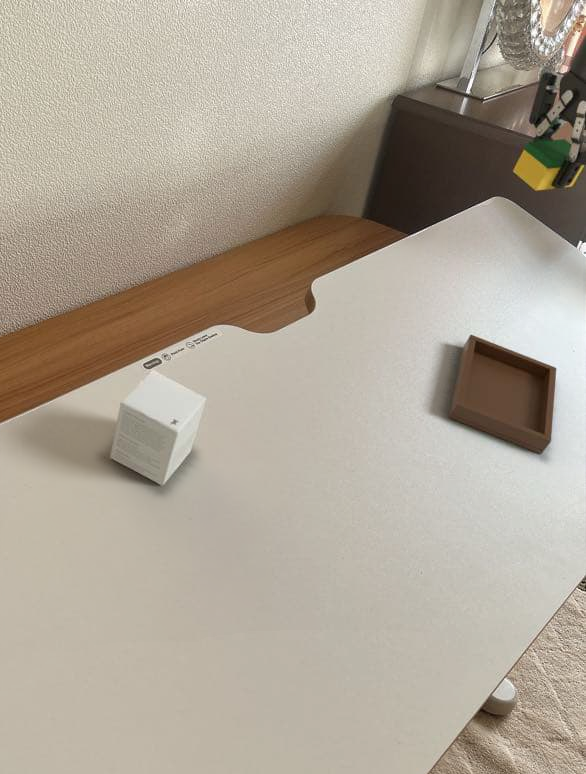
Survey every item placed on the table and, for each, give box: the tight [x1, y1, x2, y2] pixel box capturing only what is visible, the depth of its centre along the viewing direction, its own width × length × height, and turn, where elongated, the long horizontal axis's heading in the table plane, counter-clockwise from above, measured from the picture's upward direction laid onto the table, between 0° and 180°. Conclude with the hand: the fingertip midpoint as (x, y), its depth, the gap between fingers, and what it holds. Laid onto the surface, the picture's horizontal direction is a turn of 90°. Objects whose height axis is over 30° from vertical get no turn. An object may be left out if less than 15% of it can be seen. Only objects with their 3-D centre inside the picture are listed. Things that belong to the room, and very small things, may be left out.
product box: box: [109, 369, 207, 486], centre depth 83 cm, size 6×6×7 cm
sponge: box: [512, 138, 585, 191], centre depth 114 cm, size 7×5×4 cm, turn 119°
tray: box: [448, 334, 557, 455], centre depth 104 cm, size 15×11×2 cm
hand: (544, 175), depth 115 cm, fingers closed on sponge, 4 cm apart
